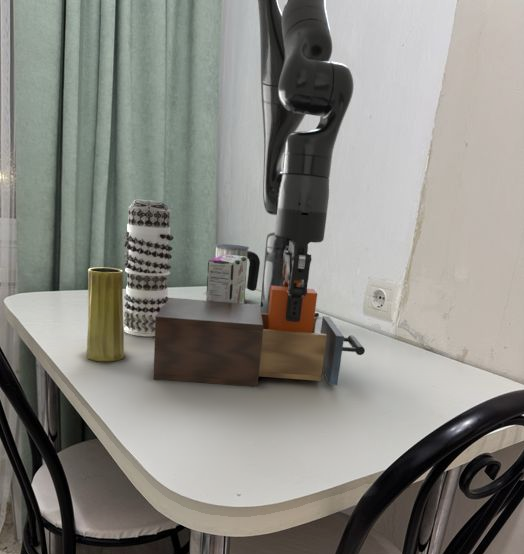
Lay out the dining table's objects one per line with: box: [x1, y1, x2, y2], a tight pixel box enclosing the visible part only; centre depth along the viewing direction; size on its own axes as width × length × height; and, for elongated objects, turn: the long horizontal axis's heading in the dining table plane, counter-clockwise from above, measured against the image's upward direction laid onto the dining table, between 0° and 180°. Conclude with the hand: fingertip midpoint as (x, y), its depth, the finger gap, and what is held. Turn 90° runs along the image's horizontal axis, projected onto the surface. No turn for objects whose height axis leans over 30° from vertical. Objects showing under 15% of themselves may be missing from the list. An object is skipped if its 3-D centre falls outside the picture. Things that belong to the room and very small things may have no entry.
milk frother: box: [214, 243, 261, 303], centre depth 139 cm, size 14×16×15 cm
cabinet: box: [153, 297, 263, 387], centre depth 81 cm, size 16×15×10 cm
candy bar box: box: [205, 255, 248, 304], centre depth 95 cm, size 11×5×16 cm, turn 168°
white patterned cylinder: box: [123, 199, 174, 337], centre depth 97 cm, size 9×9×25 cm
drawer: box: [259, 313, 366, 386], centre depth 82 cm, size 19×13×8 cm
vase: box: [85, 267, 126, 363], centre depth 81 cm, size 6×6×14 cm
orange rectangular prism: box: [267, 286, 318, 333], centre depth 81 cm, size 7×4×12 cm, turn 92°
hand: (290, 315), depth 81 cm, fingers open, 6 cm apart
